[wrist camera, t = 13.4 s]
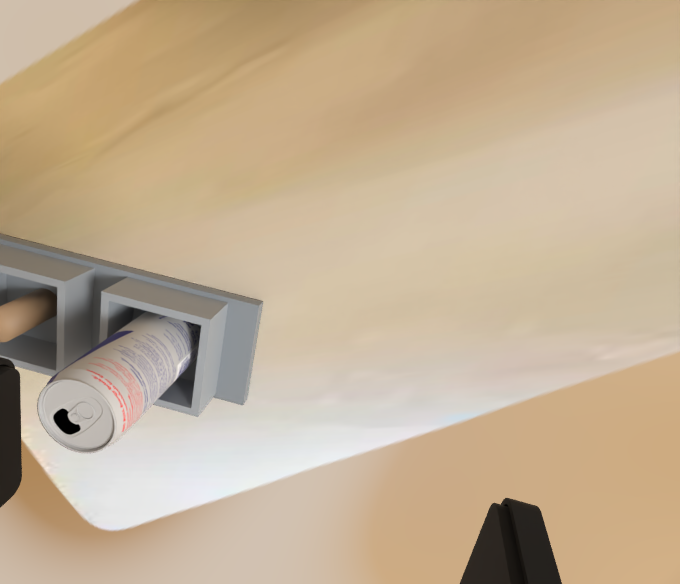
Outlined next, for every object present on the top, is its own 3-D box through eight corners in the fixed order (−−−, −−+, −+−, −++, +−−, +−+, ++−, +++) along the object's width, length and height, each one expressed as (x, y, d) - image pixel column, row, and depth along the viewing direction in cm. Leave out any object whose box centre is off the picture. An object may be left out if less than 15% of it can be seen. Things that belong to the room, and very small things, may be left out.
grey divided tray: (-15, 327, 45) (-78, 357, 39) (-19, 228, 42) (-89, 246, 36) (246, 399, 43) (219, 441, 37) (263, 301, 40) (236, 331, 34)
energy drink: (127, 322, 41) (16, 399, 30) (176, 291, 39) (78, 360, 28) (168, 375, 42) (74, 469, 31) (217, 346, 40) (137, 434, 29)
